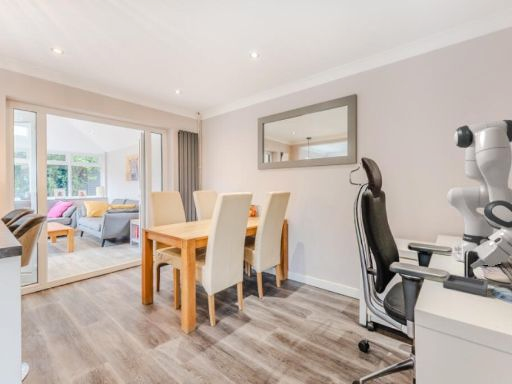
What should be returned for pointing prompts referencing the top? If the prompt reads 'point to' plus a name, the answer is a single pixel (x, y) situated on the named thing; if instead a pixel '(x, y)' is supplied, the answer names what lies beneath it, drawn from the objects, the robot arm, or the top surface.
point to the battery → (469, 259)
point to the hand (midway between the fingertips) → (469, 264)
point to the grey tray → (466, 284)
